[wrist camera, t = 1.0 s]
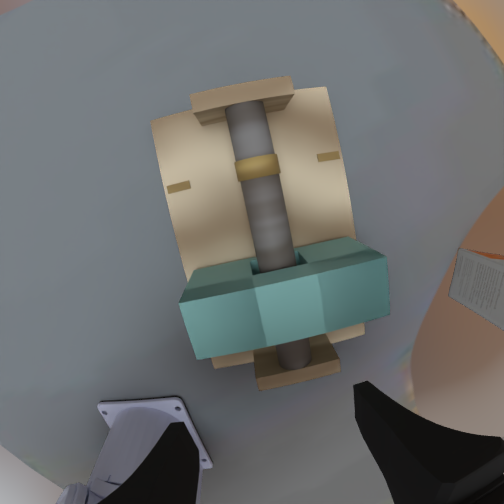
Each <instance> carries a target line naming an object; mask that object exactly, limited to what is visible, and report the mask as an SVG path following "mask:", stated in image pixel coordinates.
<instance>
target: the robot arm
mask: <svg viewBox="0 0 504 504" xmlns="http://www.w3.org/2000/svg"><path fill="white" fill-rule="evenodd" d="M353 388H354V404H355V418H356V421H357V424H358V427H359V429H360V432H361V434H362V437H363V439H364V440H365V442H366V444H367V446H368V448H369V450H370V451H371V453H372V455H373V457H374V459H375V461H376V462H377V464H378V466H379V468H380V470H381V471H382V473H383V476H384V478H385V480H386V482H387V485H388V487H389V490H390V493H391V495H392V498H393V501H394V504H504V474H503V473H504V440H503V439H502V438H501V437H495V436H484V435H476V434H470V433H465V432H461V431H457V430H454V429H450V428H447V427H444V426H441V425H438V424H436V423H433V422H431V421H429V420H426V419H425V418H423V417H421V416H419V415H417V414H415V413H413V412H411V411H410V410H408V409H406V408H405V407H403V406H402V405H400V404H398V403H397V402H395V401H394V400H392V399H391V398H390V397H388V396H387V395H385V394H384V393H383V392H381V391H380V390H379V389H378V388H376V387H375V386H374V385H372V384H371V383H370V382H368V381H365V382H362V383H359V384H355V385H353ZM177 406H178V407H180V408H177ZM97 408H98V410H99V411H100V413H101V415H102V416H103V418H104V420H105V421H106V423H107V425H108V426H109V428H110V431H109V433H108V436H107V438H106V440H105V442H104V445H103V447H102V449H101V452H100V454H99V457H98V459H97V461H96V464H95V466H94V469H93V471H92V473H91V476H90V478H89V481H88V483H87V485H86V486H85V485H83V484H81V483H79V482H78V483H76V484H71V485H68V486H67V487H66V488H65V489H64V491H63V492H62V494H61V495H60V497H59V499H58V501H57V502H56V504H200V496H201V484H202V472H203V469H209V468H212V466H213V463H212V461H211V459H210V457H209V455H208V454H207V452H206V450H205V448H204V446H203V444H202V442H201V440H200V438H199V436H198V434H197V431H196V429H195V427H194V425H193V423H192V421H191V419H190V417H189V414H188V412H187V410H186V408H185V406H184V403H183V401H182V400H181V399H180V398H178V397H170V398H160V399H149V400H135V401H117V402H99V404H98V405H97ZM105 411H106V412H105Z"/></svg>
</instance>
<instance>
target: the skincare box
mask: <svg viewBox="0 0 504 504" xmlns="http://www.w3.org/2000/svg"><path fill="white" fill-rule="evenodd" d="M448 296H449V297H451V298H452V299H454V300H455V301H457V302H459V303H460V304H462V305H464V306H465V307H467V308H469V309H470V310H472V311H474V312H475V313H477V314H478V315H480V316H482V317H483V318H485V319H486V320H488V321H489V322H491V323H492V324H494V325H495V326H497V327H499V328H500V329H502V330H503V331H504V256H503V255H500V254H491V253H484V252H478V251H473V250H468V249H462V248H460V249H459V250H458V254H457V260H456V264H455V269H454V274H453V278H452V282H451V286H450V290H449V294H448Z"/></svg>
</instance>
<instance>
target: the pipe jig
mask: <svg viewBox="0 0 504 504" xmlns="http://www.w3.org/2000/svg"><path fill="white" fill-rule="evenodd" d="M190 100H191V105H192V110H188V111H184V112H180V113H176V114H173V115H169V116H165V117H162V118H159V119H155V120H152V121H150V122H151V127H152V132H153V137H154V143H155V148H156V153H157V157H158V162H159V167H160V172H161V176H162V181H163V185H164V190H165V194H166V199H167V203H168V207H169V211H170V216H171V220H172V224H173V228H174V232H175V236H176V240H177V244H178V248H179V251H180V255H181V259H182V263H183V266H184V270H185V274H186V277H187V281H188V282H189V279H190V277H191V275H192V273H193V271H194V270H197V269H201V268H206V267H211V266H215V265H220V264H224V263H229V262H234V261H238V260H243V259H248V258H252V257H257V262H258V267H259V271H260V274H262V273H266V272H271V271H275V270H280V269H284V268H289V267H293V266H297V264H296V258H295V253H294V248H298V247H303V246H307V245H312V244H316V243H321V242H325V241H330V240H334V239H339V238H343V237H350V238H352V239H354V240H356V236H355V229H354V222H353V215H352V209H351V202H350V196H349V190H348V185H347V179H346V174H345V168H344V163H343V158H342V153H341V148H340V144H339V139H338V134H337V130H336V126H335V121H334V117H333V113H332V109H331V105H330V101H329V97H328V93H327V89H326V87H316V88H307V89H299V90H294V88H293V84H292V80H291V76H284V77H277V78H270V79H263V80H257V81H251V82H245V83H240V84H235V85H230V86H225V87H220V88H215V89H211V90H206V91H202V92H198V93H194V94H190ZM364 334H365V328H364V323H360V324H357V325H353V326H350V327H346V328H342V329H339V330H335V331H331V332H328V333H324V334H320V335H316V336H312V337H308V338H304V339H300V340H295V341H291V342H287V343H282V344H278V345H273V346H269V347H264V348H259V349H254V350H249V351H244V352H239V353H234V354H228V355H223V356H217V357H211V360H212V363H213V366H214V369H217V368H223V367H229V366H234V365H240V364H245V363H250V362H254V366H255V376H256V381H257V385H258V389H259V391H262V390H267V389H272V388H277V387H282V386H286V385H291V384H295V383H299V382H303V381H308V380H312V379H315V378H319V377H323V376H327V375H331V374H334V373H338V372H341V369H340V358H339V357H338V355H337V353H336V351H335V350H334V348H333V346H332V343H336V342H339V341H343V340H347V339H350V338H354V337H357V336H360V335H364Z"/></svg>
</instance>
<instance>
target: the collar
mask: <svg viewBox="0 0 504 504" xmlns="http://www.w3.org/2000/svg"><path fill="white" fill-rule="evenodd" d="M294 253H295V258H296V264H297V266H293V267H289V268H284V269H280V270H275V271H271V272H266V273H262V274H260V271H259V267H258V262H257V257H252V258H248V259H243V260H238V261H234V262H229V263H224V264H220V265H215V266H211V267H206V268H201V269H197V270H194V271H193V273H192V275H191V277H190V279H189V282H188V284H187V286H186V288H185V290H184V292H183V295H182V297H181V299H180V301H179V307H180V310H181V313H182V316H183V319H184V323H185V326H186V329H187V332H188V335H189V338H190V341H191V344H192V347H193V350H194V353H195V355H196V358H197V360H199V359H206V358H211V357H217V356H223V355H228V354H234V353H239V352H244V351H249V350H254V349H259V348H264V347H269V346H273V345H278V344H282V343H287V342H291V341H295V340H300V339H304V338H308V337H312V336H316V335H320V334H324V333H328V332H331V331H335V330H339V329H342V328H346V327H350V326H353V325H357V324H360V323H364V322H367V321H371V320H374V319H377V318H380V317H384V316H387V315H390V302H389V283H388V268H387V257H386V256H384V255H382V254H381V253H379V252H377V251H375V250H373V249H371V248H369V247H367V246H366V245H364V244H362V243H360V242H358V241H356V240H354V239H352V238H350V237H343V238H339V239H334V240H330V241H325V242H321V243H316V244H312V245H307V246H303V247H298V248H294Z"/></svg>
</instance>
